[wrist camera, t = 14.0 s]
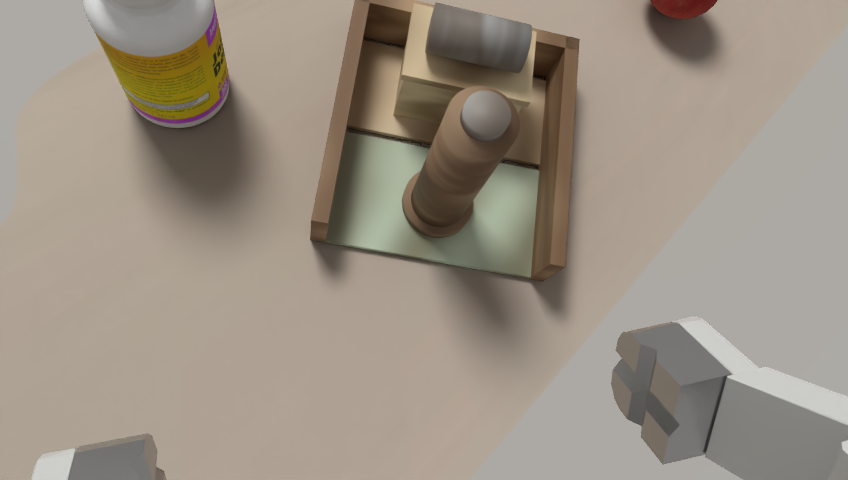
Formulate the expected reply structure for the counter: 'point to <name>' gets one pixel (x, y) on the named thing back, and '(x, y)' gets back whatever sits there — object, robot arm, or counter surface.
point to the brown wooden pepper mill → (460, 161)
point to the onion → (683, 7)
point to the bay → (398, 162)
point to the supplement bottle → (164, 56)
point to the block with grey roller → (462, 60)
